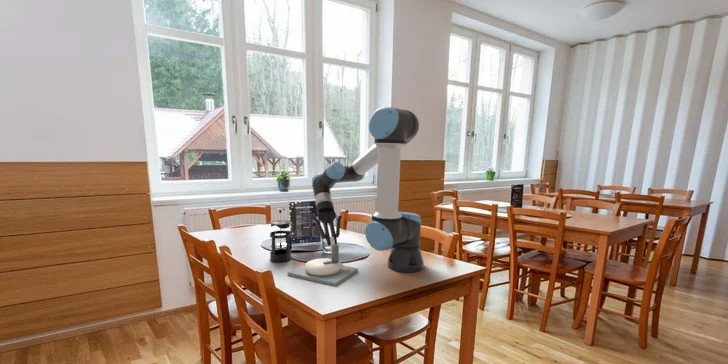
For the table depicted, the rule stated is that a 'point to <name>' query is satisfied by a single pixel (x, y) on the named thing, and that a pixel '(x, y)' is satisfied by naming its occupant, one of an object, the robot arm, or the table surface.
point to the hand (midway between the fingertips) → (333, 252)
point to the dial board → (328, 279)
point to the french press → (282, 250)
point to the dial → (325, 264)
